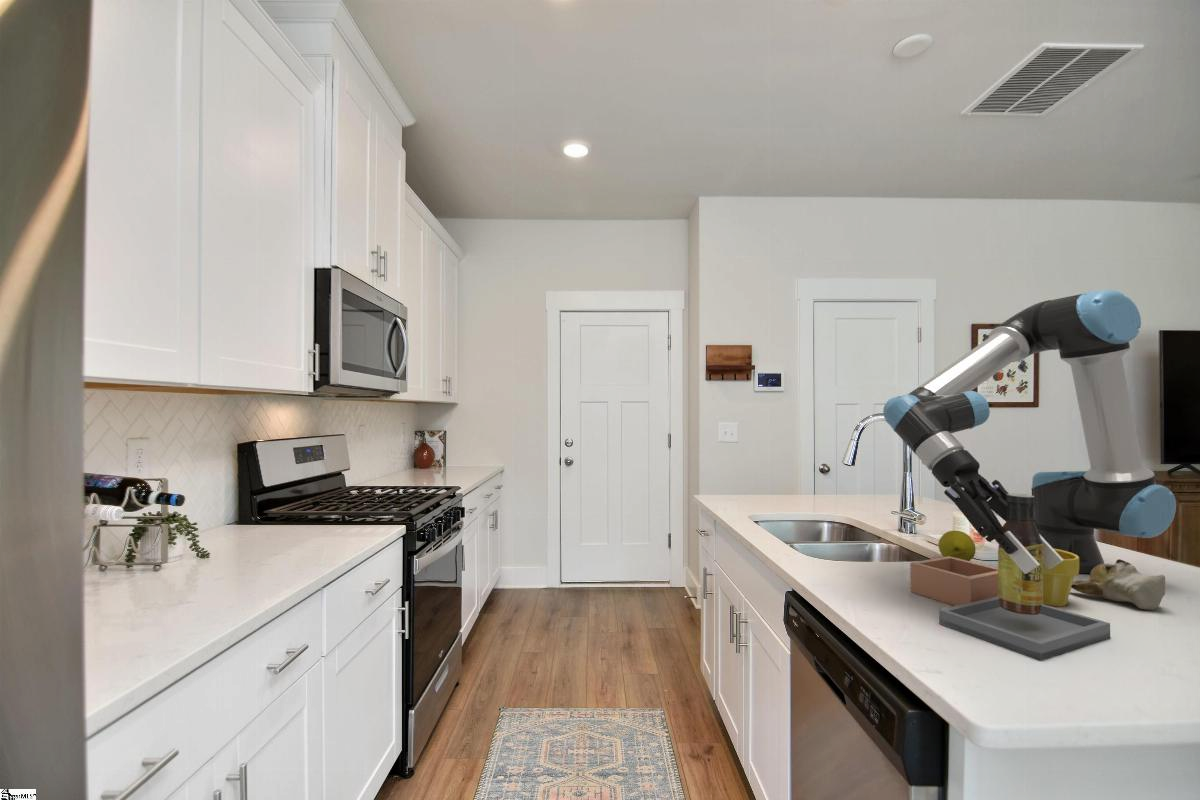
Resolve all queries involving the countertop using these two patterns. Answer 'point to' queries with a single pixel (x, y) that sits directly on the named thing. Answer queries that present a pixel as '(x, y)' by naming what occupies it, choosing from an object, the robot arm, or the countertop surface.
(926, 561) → the terracotta holder
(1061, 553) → the plant pot
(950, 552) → the lemon
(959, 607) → the grey tray
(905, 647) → the countertop surface
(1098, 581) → the ceramic sculpture
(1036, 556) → the sauce bottle
